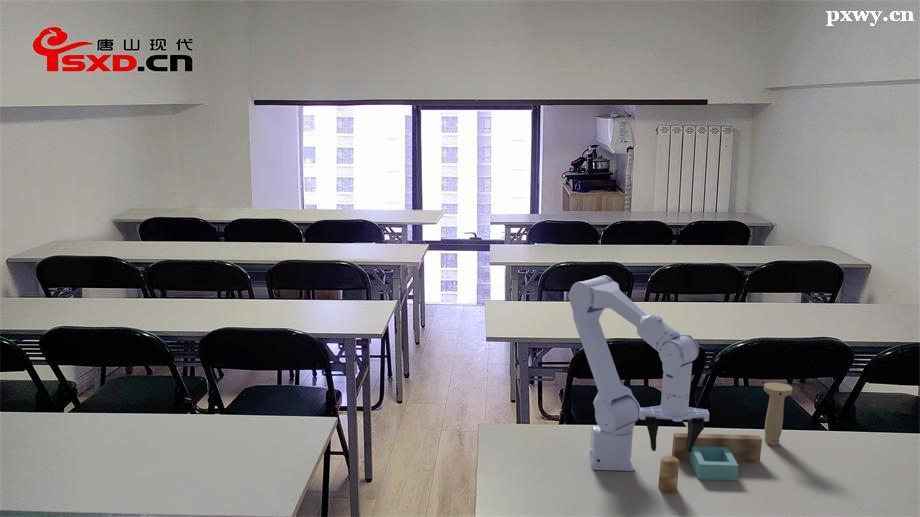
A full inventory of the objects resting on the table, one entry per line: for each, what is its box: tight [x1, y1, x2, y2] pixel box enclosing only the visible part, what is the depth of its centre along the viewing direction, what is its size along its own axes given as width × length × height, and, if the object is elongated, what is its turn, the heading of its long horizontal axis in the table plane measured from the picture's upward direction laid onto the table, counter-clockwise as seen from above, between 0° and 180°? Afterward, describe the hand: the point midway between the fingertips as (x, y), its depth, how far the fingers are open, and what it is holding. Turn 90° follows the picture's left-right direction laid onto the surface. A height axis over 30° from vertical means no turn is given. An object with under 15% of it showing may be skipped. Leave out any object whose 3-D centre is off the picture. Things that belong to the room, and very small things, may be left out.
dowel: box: [657, 455, 680, 494], centre depth 178 cm, size 4×4×7 cm
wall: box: [671, 432, 763, 463], centre depth 191 cm, size 20×2×6 cm, turn 88°
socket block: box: [688, 446, 739, 481], centre depth 186 cm, size 9×9×4 cm
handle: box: [763, 382, 793, 447], centre depth 198 cm, size 5×6×15 cm
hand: (670, 449), depth 176 cm, fingers open, 7 cm apart
